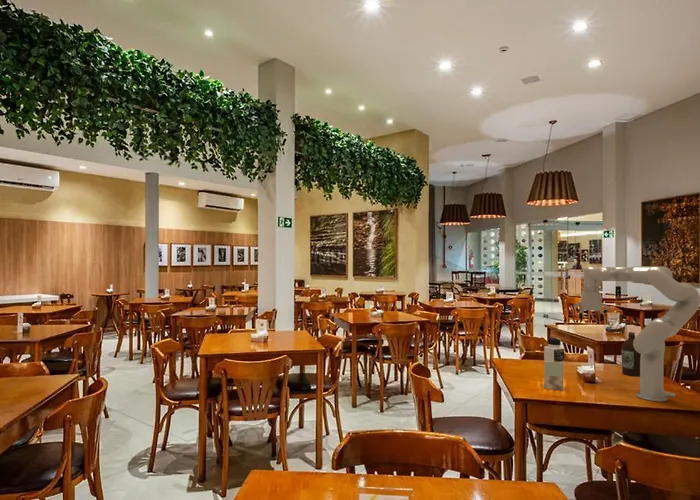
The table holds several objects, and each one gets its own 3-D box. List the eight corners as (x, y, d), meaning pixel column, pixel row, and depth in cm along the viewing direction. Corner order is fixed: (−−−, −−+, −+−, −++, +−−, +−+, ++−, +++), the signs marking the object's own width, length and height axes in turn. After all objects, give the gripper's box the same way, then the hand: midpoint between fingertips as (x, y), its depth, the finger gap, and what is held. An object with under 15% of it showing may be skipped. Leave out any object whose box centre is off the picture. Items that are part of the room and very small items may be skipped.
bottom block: (562, 386, 240) (562, 373, 240) (563, 390, 232) (563, 377, 232) (544, 384, 243) (544, 371, 244) (544, 388, 235) (544, 374, 235)
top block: (563, 373, 240) (563, 360, 240) (563, 377, 231) (563, 363, 232) (544, 371, 243) (545, 358, 244) (544, 374, 235) (544, 361, 235)
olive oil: (628, 371, 276) (628, 330, 276) (646, 375, 266) (646, 333, 267) (617, 373, 271) (617, 331, 272) (634, 377, 261) (635, 334, 262)
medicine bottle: (554, 362, 233) (554, 339, 233) (543, 359, 240) (544, 337, 240) (564, 361, 235) (564, 338, 236) (554, 359, 242) (554, 336, 242)
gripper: (608, 290, 246) (608, 321, 246) (573, 288, 253) (573, 319, 252) (610, 290, 239) (610, 323, 239) (574, 289, 246) (574, 320, 246)
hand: (591, 321), depth 246 cm, fingers open, 9 cm apart
